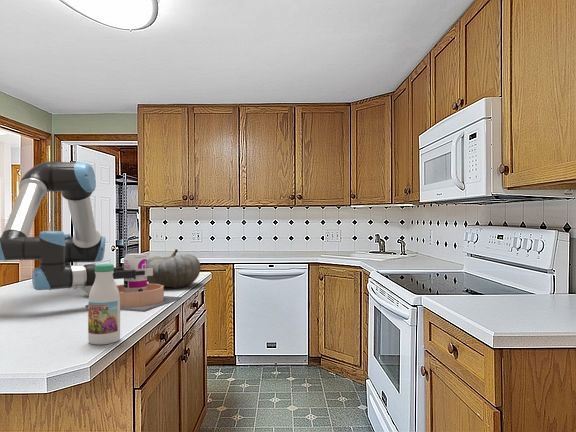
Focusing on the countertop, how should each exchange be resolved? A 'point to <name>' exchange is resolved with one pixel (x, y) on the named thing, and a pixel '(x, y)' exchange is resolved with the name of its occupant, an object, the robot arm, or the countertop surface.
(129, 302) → the peach faceted bowl
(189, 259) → the gourd
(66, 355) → the countertop surface
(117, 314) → the milk bottle
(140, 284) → the supplement can
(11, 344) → the countertop surface
